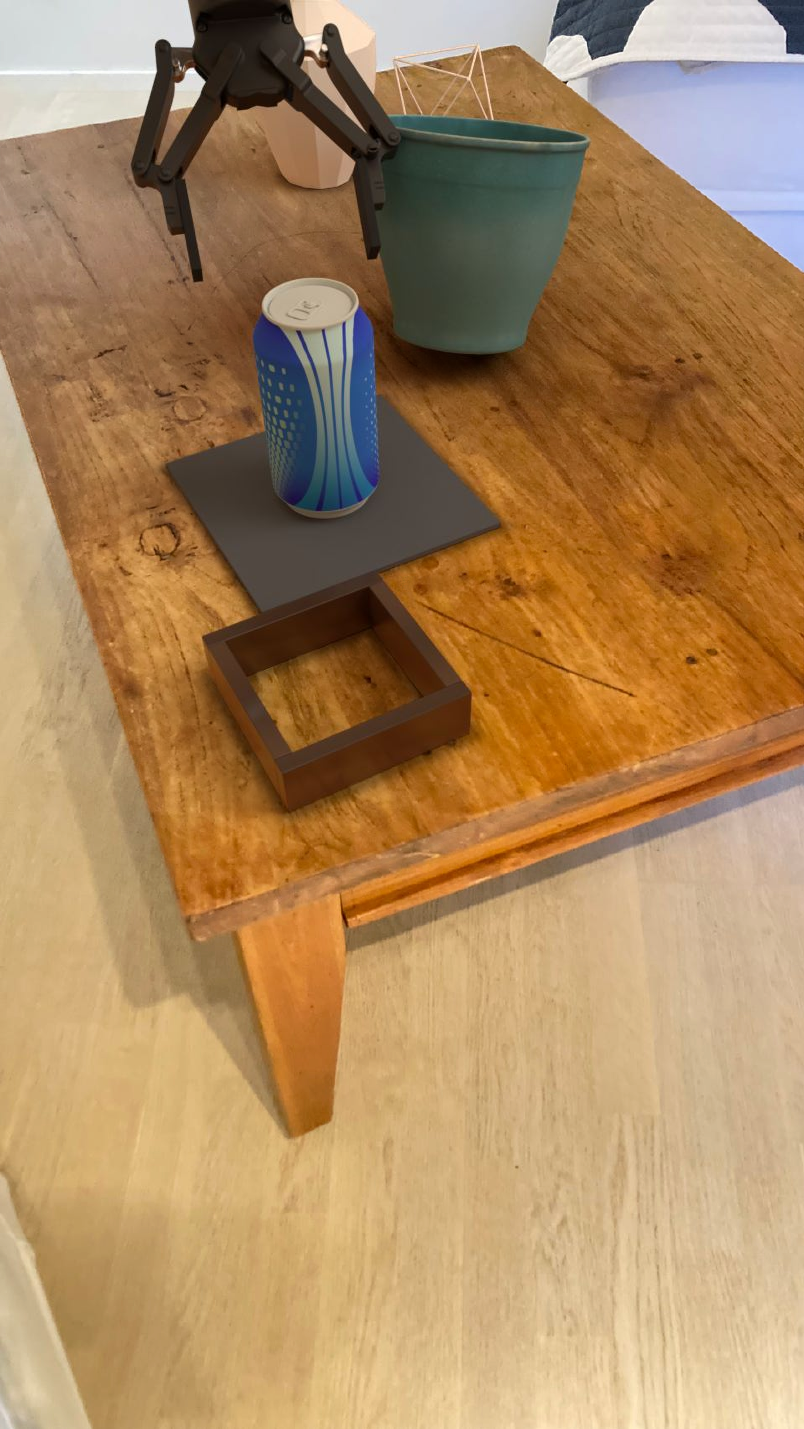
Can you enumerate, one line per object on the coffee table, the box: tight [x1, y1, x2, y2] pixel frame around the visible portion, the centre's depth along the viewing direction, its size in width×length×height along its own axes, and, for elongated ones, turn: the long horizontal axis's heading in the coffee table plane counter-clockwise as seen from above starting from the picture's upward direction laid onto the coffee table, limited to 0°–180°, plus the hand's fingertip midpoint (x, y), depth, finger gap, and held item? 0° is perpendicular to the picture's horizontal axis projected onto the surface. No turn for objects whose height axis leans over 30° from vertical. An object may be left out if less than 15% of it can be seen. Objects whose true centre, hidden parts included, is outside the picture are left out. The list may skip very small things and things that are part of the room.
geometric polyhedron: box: [392, 43, 494, 120], centre depth 124 cm, size 12×11×9 cm
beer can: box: [252, 277, 379, 519], centre depth 78 cm, size 8×8×16 cm
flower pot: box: [375, 113, 591, 356], centre depth 91 cm, size 18×18×17 cm
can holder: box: [201, 571, 473, 813], centre depth 69 cm, size 13×13×4 cm
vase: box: [254, 0, 377, 190], centre depth 113 cm, size 14×14×25 cm
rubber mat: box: [164, 393, 502, 614], centre depth 84 cm, size 20×20×1 cm
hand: (287, 265), depth 80 cm, fingers open, 13 cm apart
